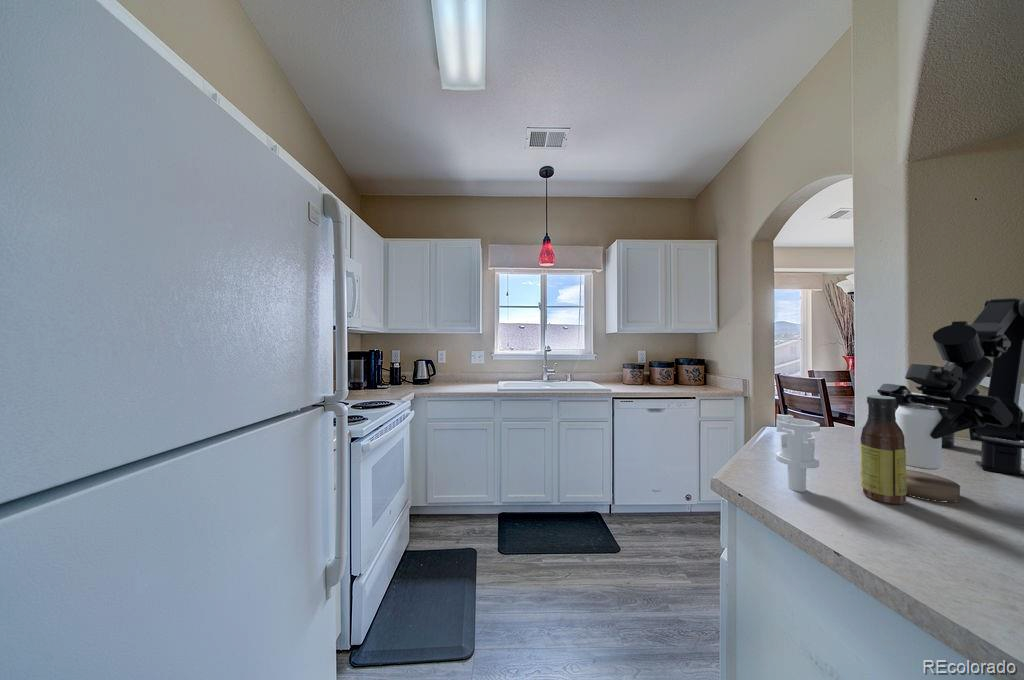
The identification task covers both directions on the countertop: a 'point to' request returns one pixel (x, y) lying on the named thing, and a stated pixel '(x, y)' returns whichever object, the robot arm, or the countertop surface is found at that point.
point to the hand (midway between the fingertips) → (912, 432)
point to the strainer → (797, 449)
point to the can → (920, 435)
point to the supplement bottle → (948, 439)
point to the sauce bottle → (883, 453)
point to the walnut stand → (931, 487)
